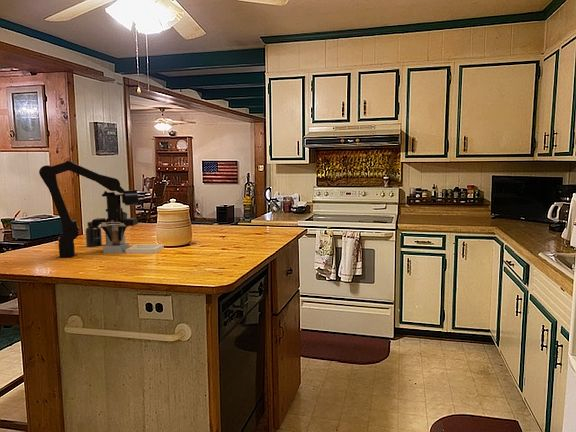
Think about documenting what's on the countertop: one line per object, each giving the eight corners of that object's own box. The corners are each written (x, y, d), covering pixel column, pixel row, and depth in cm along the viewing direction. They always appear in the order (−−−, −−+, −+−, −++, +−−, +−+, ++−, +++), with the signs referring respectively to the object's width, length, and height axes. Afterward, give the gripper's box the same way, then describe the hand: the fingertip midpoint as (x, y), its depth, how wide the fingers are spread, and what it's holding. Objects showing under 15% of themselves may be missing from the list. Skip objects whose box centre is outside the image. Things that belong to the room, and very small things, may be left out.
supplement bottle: (98, 248, 205) (96, 222, 203) (83, 248, 205) (82, 223, 203) (104, 245, 212) (103, 220, 210) (90, 245, 212) (89, 221, 210)
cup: (128, 244, 212) (126, 224, 211) (120, 248, 204) (118, 226, 203) (111, 244, 213) (110, 224, 212) (102, 248, 205) (101, 226, 204)
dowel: (118, 251, 193) (117, 231, 191) (112, 251, 193) (110, 231, 192) (121, 250, 196) (120, 230, 194) (115, 250, 196) (113, 230, 195)
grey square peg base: (121, 254, 190) (121, 246, 190) (103, 254, 191) (103, 246, 190) (129, 250, 198) (128, 242, 198) (112, 250, 199) (111, 242, 198)
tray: (155, 254, 189) (154, 249, 188) (125, 254, 189) (125, 249, 189) (163, 249, 200) (163, 244, 199) (135, 249, 200) (135, 244, 200)
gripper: (141, 204, 199) (143, 238, 201) (102, 204, 200) (104, 238, 202) (131, 206, 188) (133, 242, 190) (89, 207, 189) (92, 242, 191)
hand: (116, 241), depth 194 cm, fingers open, 4 cm apart
